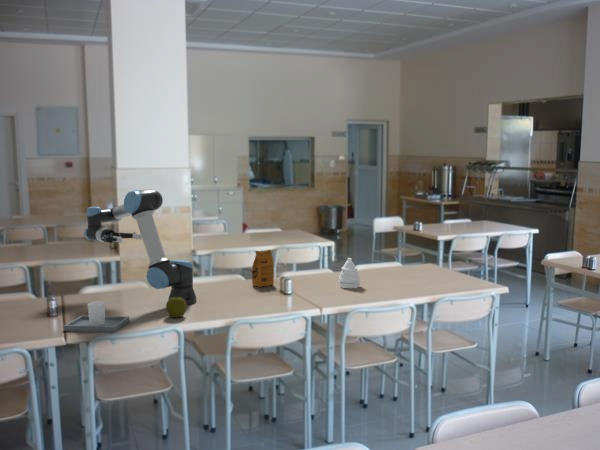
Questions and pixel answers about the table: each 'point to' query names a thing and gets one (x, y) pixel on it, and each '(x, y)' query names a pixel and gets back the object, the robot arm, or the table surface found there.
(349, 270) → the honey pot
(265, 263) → the coffee package
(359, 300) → the table surface
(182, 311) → the apple
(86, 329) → the tray
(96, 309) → the white cup
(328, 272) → the table surface
